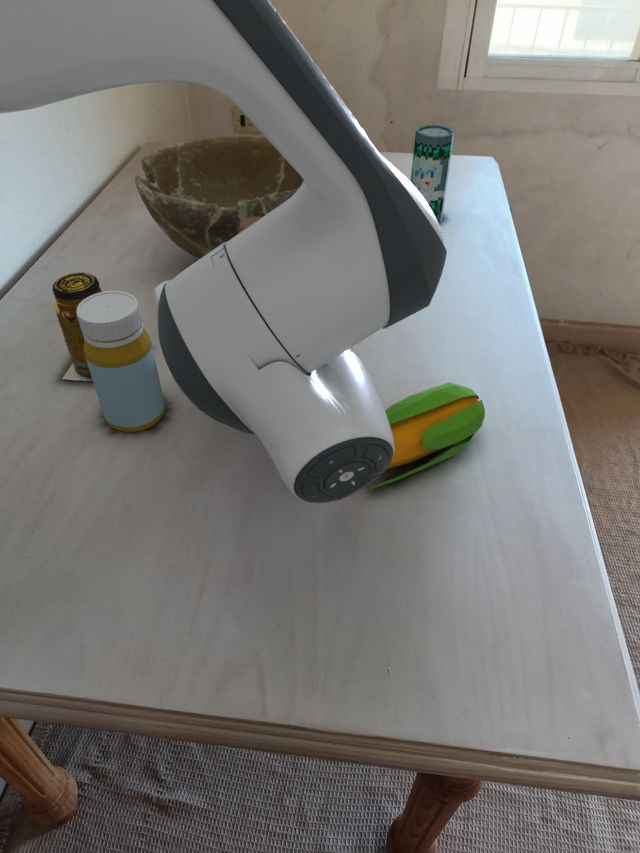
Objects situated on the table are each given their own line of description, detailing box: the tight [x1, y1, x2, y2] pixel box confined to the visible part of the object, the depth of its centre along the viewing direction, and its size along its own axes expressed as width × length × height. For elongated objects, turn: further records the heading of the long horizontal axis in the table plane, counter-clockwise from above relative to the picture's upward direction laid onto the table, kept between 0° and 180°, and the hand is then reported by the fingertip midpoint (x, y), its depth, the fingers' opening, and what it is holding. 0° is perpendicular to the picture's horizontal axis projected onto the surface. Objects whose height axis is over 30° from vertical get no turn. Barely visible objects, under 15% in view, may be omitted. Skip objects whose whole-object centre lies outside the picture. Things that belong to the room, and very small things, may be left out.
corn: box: [368, 382, 486, 490], centre depth 67 cm, size 7×8×20 cm
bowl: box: [134, 135, 304, 260], centre depth 97 cm, size 28×27×15 cm
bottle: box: [76, 290, 166, 433], centre depth 69 cm, size 7×7×15 cm
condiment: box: [52, 272, 103, 382], centre depth 77 cm, size 7×8×12 cm
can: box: [410, 123, 455, 224], centre depth 108 cm, size 6×6×15 cm
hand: (256, 259), depth 61 cm, fingers closed on lid, 3 cm apart
